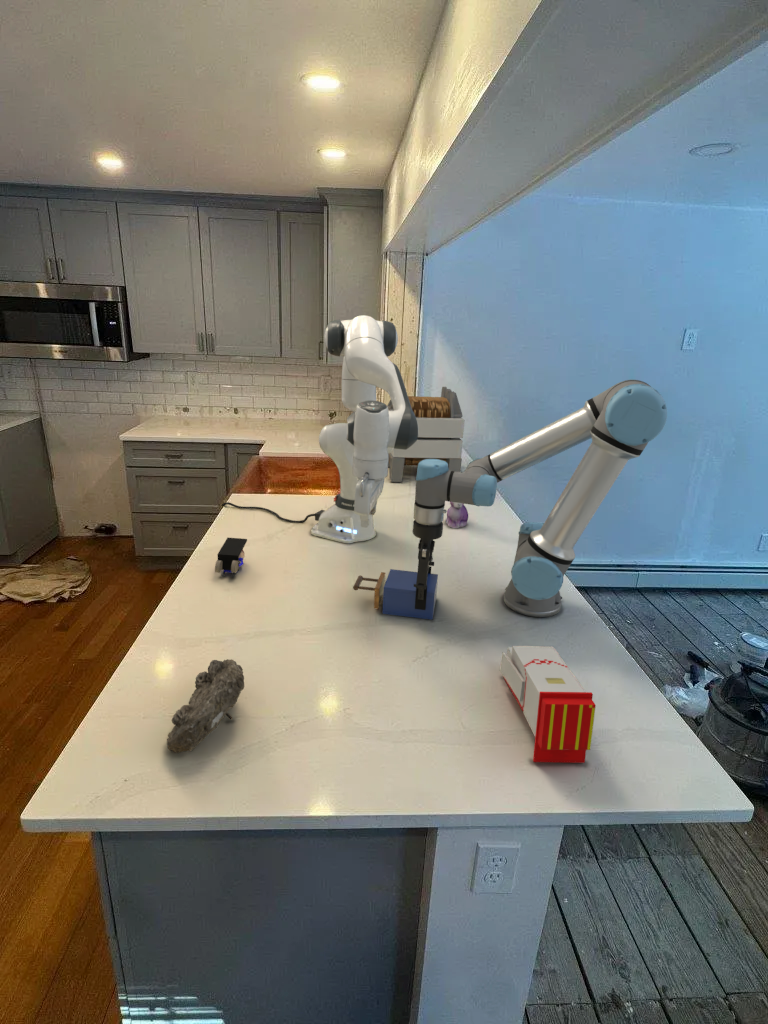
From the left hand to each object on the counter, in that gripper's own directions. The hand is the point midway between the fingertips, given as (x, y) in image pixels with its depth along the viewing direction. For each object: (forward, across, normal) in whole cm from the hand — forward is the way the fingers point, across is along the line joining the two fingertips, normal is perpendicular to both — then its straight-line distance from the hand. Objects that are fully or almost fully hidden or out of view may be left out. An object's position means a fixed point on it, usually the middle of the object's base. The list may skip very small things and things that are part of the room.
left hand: (368, 520), depth 146 cm
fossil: (+24, -52, +19) cm, 60 cm away
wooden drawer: (+22, 0, -6) cm, 23 cm away
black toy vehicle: (+23, +9, +42) cm, 49 cm away
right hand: (+20, 0, -15) cm, 26 cm away
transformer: (+23, +131, 0) cm, 133 cm away
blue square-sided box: (+23, 0, -12) cm, 26 cm away
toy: (+24, -36, -42) cm, 61 cm away
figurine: (+23, +66, -21) cm, 73 cm away
